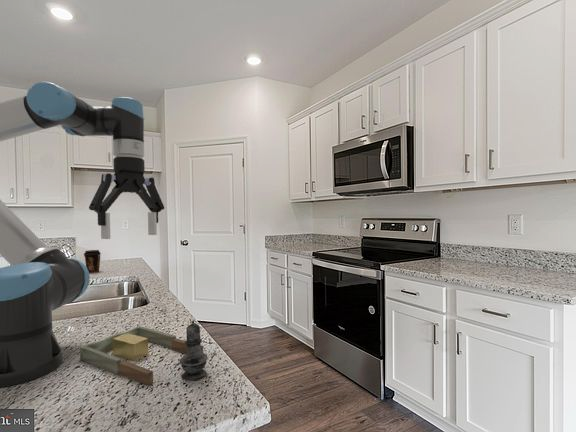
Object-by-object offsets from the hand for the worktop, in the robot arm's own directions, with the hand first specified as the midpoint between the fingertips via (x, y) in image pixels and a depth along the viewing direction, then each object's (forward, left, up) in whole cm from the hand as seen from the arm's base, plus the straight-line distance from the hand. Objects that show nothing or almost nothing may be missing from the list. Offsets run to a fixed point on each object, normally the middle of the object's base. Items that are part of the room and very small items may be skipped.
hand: (130, 236), depth 88 cm
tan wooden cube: (-5, -8, -29) cm, 30 cm away
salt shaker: (-5, -28, -29) cm, 40 cm away
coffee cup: (+52, +115, -29) cm, 129 cm away
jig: (-4, -11, -29) cm, 31 cm away
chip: (-5, -4, -29) cm, 29 cm away
